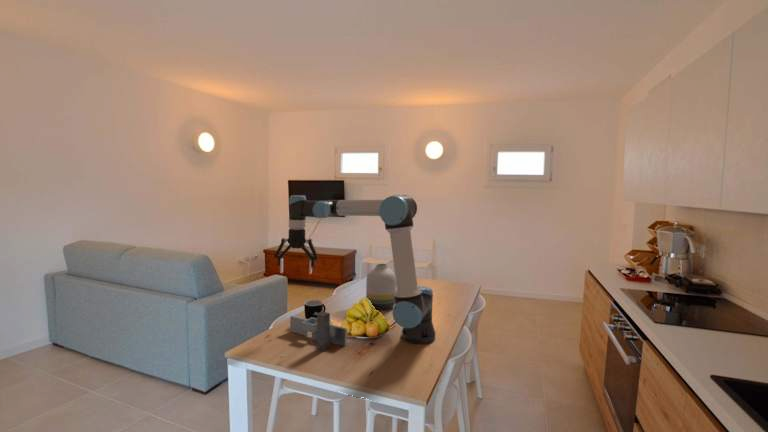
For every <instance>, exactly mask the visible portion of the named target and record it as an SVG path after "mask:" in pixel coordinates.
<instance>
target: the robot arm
mask: <svg viewBox="0 0 768 432" xmlns="http://www.w3.org/2000/svg"><path fill="white" fill-rule="evenodd" d="M288 202H289V203H288V212H289V213H288V214H289V215H288V216H289V217H288V238H286V237H283V238H281V241H280V244H279V246H278V247H277V250H276V251H275V253H274V255H273V257H274V259H275V258H276V259H277V265H278V267H279V273H280V274H283V273H284V255H286V254H287V252H288V251H289V250H291V248H292V249H297V250H298V249H299V250H300V249H301V250H302V251H304V253H306V255H307V257H308V258H309V259H310V260H309V265H308V266H309V267H308V271H309V272H308V274H309V275H312V274H313V268H314V267H315V260H318V258H319V254H318V253H317V251H316V249H315V246H314V244H313V240H312V238H309V239H306V217H309V218H318V219H325V218H328V217H330V216H333V217H334V216H337V217H338V216H341V217H342V216H345V217H347V216H350V217H353V216H354V217H361V216H362V217H366V216H367V217H379V218H381V221H382V222H384V228H385V231H386V232H387V233H389V237H390V245H391V246H390V247H391V252H392V253H391V255H392V261H393V269H394V273H395V278H396V292H395V294H394V298H395V304H394V306H393V309H392V317H393V318H392V319H394V322H395V323H396V324H397V325H398V326H399V327H401V328H402V330H401V338H402V340H404V341H406V342H407V343H411V344H417V345H419V344H420V345H422V344H429V343H432V342H433V341H435V340H436V331H435V328H434V324H433V302H434V301H433V300H434V299H433V298H434V295H433V289H432V288H430V287H428V286H424V285H418V281H417V279H418V278H417V273H416V271H417V270H416V266H415V255H414V250H413V241H412V234H411V233H412V232H411V231H412V228H413V227H414V221H413V220H414V217H416V214H417V212H418V205H417V202H416V200H415V199H414V198H413V197H411V196H410V195H407V194H394V195H390V196H387V197H386V198H384V199H328V200H327V199H326V200H308V199H307V197H306V195H300V194H299V195H297V194H296V195H295V194H293V195H290V196H289V200H288ZM286 243H288V245H287V247H286V248H285V249H284V250H283V248H284V246H285V244H286ZM306 243H307V245H308V246H309V249H310V250H311V251H310V250H309V249H308V247H307V246H306V245H305V244H306ZM282 250H283V251H282ZM281 252H282V253H281Z"/></svg>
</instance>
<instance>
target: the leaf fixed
mask: <svg viewBox="0 0 768 432" xmlns="http://www.w3.org/2000/svg"><path fill="white" fill-rule="evenodd" d="M347 329H348V328H346V327H342V326H338V325H333V324H330V330H329V344H335V345H338V346H343V347H347V342H348V341H347V335H348V334H347V333H348V332H347ZM311 341H312V342H314V343H315V342H316V343H317V332H315V333H312V332H311Z"/></svg>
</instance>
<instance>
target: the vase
mask: <svg viewBox="0 0 768 432" xmlns="http://www.w3.org/2000/svg"><path fill="white" fill-rule="evenodd" d="M367 273H368V274H367V276H366V282H365V283H366V287H365V289H366V293H365V295H366V296H365V297H366V298H368V299H369V300H370V301H371V303H372V305H373V306H374V307H375V308H376V310H387V309H390V308H392V307H393V308H394V306H395V298H394V294H395V292H396V291H397V285H396V278H395V271H393V270H392V269H391V268H390V267H389V266H388V264H387V263H377V264H376V265H375V267H374V268H372V269H371V270H370V271H369V272H367ZM366 298H365V299H366ZM375 308H374V309H375Z"/></svg>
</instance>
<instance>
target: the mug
mask: <svg viewBox="0 0 768 432" xmlns="http://www.w3.org/2000/svg"><path fill="white" fill-rule="evenodd" d="M303 307H304V317H305V319H309V318H311V317H313V318H317V314H319V313H321V312H326V305H325V304H324V302H323V301H322V300H318V299H311V300H307V301H305V302H304V306H303Z"/></svg>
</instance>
